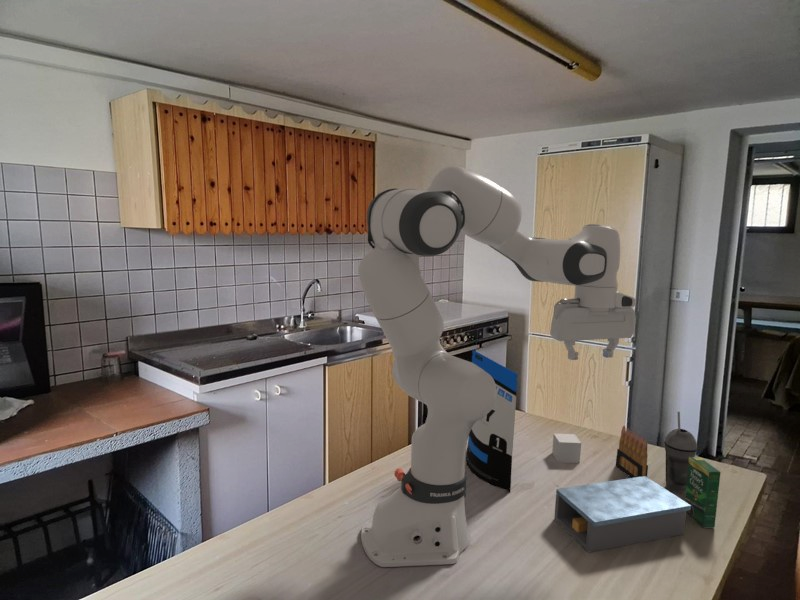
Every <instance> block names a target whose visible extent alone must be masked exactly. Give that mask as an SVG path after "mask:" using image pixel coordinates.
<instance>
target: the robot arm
mask: <svg viewBox="0 0 800 600" xmlns="http://www.w3.org/2000/svg"><path fill="white" fill-rule="evenodd" d="M429 185H430V186H429V187H428V188H427V189H426V190H423V189H415V188H389V189H386V190H383V191H381V192H379V193H378V194H376V195H375V196H374V197H373V198H372V200H371V201H370V202H369V204H368V207H367V212H366V226H367V243H368V245H369V246H370V247H371V248H372V249H371V250H369V252H367V253H365V255H364V256H363V257H362V259H361V261H360V262H359V265H358V278H359V281H360V284H361V287H362V290H363V293H364V295H365V297H366V300H367V303H368V306H369V308H370V309H371V311H372V313H373V316H374V317H375V319H376V321H377V323H378V324H379V327H380V329H381V330H382V332H383V334H384V336H385V338H386V340H387V342H388V343H389V345H390V348H391V351H392V355H393V363H392V368H391V370H392V371H391V374H392V378H393V381H394V382H395V384H396V385H397V386H398V387H399V388H400V389H401V390H402V391H403V392H404V393H405V394H406V395H407V396H409V397H411V398H413V399H415V400H416V401H419V402H420V403H422V404H424V405H426V408H427V417H426V419H425V423H423V424H422V425H420V426H419V427H417V428H416V429H415V431H413V433H412V436H411V449H410V451H411V452H410V468H409V469H408V471H407V472H406V473H405V471H404V470H403V468H401V467H400V468H397V469H395V471H394V473H393V474H394V477H395V478H396V480H397V481H398V482H400V485H401V486H400V487H399V488H397V489H396V490H395V491H394V492H392V493H391V494H390V495H388V496H387V497H386V498H384V499H383V500H382V501H380V502H378V504H377V505H376V507H375V509H374V512H373V516H372V520H370V521H368V522H365V523H363V525H362V528H361V533H360V540H361V545H362V548H363V550H364V552H365V554H366V555H367V557H368V558H369V559H370V561H372V563H373V564H375V565H377V566H378V567H381V568H395V567H416V566H418V567H419V566H435V565H436V566H440V565H442V566H443V565H454V564H456V563H457V562H458V560H459V557H460V554H461V553H462V552H463V551H464V550H465V549H467V547H468V545H469V543H470V541H471V540H470V539H471V536H470V532H469V529H468V523H467V517H466V516H467V515H466V508H465V504H466V503H465V498H466V496H467V487H468V483H467V480H468V479H467V471H466V452H467V446H468V437H469V433H470V430H471V428H472V427H473V425H474V424H475V422H477V421H478V420H480V419H482V418H483V417H485V416H486V415H487V414H488V413H489V412H490V410H491V409H492V407H493V405H494V402H495V399H496V385H495V382H494V379H493V378H492V376H491V375H490V374H488V373H487V372H486V371H484V370H483V369H481V368H480V367H478V366H477V365H476V364H474V363H472V361H468V360H465V359H463V358H461V357H457V356H453V355H452V354H450V353H449V352H447V351H446V349H444V347H443V345H442V344H441V341H440V340H441V339H440V338H441V335H442V334H443V331H444V327H445V323H444V320H443V317H442V315H441V313H440V311H439V309H438V306H437V305H436V304H437V303H435V301H434V298H433V296H432V294H431V292H430V290H429V287H428V285H427V284H426V281H425V280H424V278H423V276H422V272H421V269H420V257H434V256H438V255H441V254H443V253H446V252H447V251H448V250H449V249H450V248H451V247H452V246H453V245H454V244H455V242H456V241H457V239H458V238H459V235H460V233H462V234H463V235H466V236H467V237H469V238H470V239H472V240H475V241H477V242H479V243H481V244H484V245H487V246H489V248H492V249H493V250H494V251H495V252H498V253H499V254H500V255H501V256H504V257H505V258H507V259H508V260H509V261H510V262H512V263H513V264H514V265H515V267H516V268H517V269H518V271H519V272H520V274H521V275H522V276H523V277H524V279H526V280H528V281H531V282H538V283H539V282H541V283H543V282H546V283H551V284H558V285H565V286H575V287H574V297H573V298H562V299H560V300H559V301H557V302H556V303H555V304H554V305H553V314H552V320H551V324H550V330H549V331H550V332H549V334H550V336H551V338H552V339H553V340H556V341H558V342H563V344H564V346H565V349H566V350H567V359H568V360H570V361H575V360H578V359H579V357H578V356H579V352H578V351H576V350H575V348H574V346H576V341H577V342H578V341H591V340H592V341H594V340H595V341H596V340H607V342H608V343H607V346H606V347H605V348H603V349H602V352H603V353H602V357H603V358H608V359H609V358H613V357H614V351H615V349H616V348H617V346H618V345H619V344H620V343H619V342H620V341H619V340H620V339H630V338H632V337H633V335H634V333H635V329H636V311H635V309H634V307H635V306H636V303H637V300H636V298H635V297H633V296H631V295H628V294H625V293H623V292H620V291H618V286H619V285H618V281H617V279H618V278H617V275H618V271H619V269H620V265H621V264H620V262H621V238H620V234H619V231H618V230H617V229H616V228H614V227H612V226H609V225H602V224H601V225H600V224H592V223H591V224H586V225H584V226H583V227H582V229H581V230H580V232H578V233H577V234H575V235H573V236H571V237H569V238H568V239H554V238H545V237H544V238H543V237H529V236H527V235H525V234H524V233H523V232H522V231H520V230H519V228H520V225H521V222H522V207H521V203H520V201H518V199H517V198H516V197H515V195H513V194H512V193H511V192H510V191H509V190H507V189H506V188H504V187H503V186H502V185H499V184H498V183H496V182H495V181H493V180H491V179H490V178H488V177H487V176H484V175H482V174H479V173H478V172H477V171H473V170H470V169H468V168H466V167H462V166H459V165H451V166H450V165H449V166H447V167H445V168H443V169H441V170H440V171H439V172H437V174H436V175H435V176H434V177H433V179H432V181H431V183H430V184H429Z"/></svg>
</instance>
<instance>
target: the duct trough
mask: <svg viewBox="0 0 800 600" xmlns="http://www.w3.org/2000/svg"><path fill="white" fill-rule="evenodd" d="M553 516H554V517H553V519H554V521H556V523H557V524H559V526H560V527H562V528H563V529H564V530H565V531H566V532H567V533H568V534H569V535H570V536H571V537H572V538H573V539H574V540H575V541H577V543H579V545H580V546H582V548H583V549H585V550H586V551H587V552H588V553H593V552H598V551H602V550H607V549H613V548H619V547H623V546H628V545H633V544H638V543H644V542H649V541H655V540H660V539H664V538H670V537H675V536H681V535H684V533H685V524H686V517H687V511H682V512H676V513H670V514H665V515H659V516H653V517H648V518H642V519H636V520H631V521H625V522H619V523H614V524H608V525H602V526H597V527H594V526H593V525H592V524H591V523H590V522H588V528H587V531H584V532H577V531H576V530H575V529H574V528H573V527H572V523H573V518H579V517H583V516H582V515H580V514H579V513H578V512H577V511H576V510H575V509H574V508H572V507H571V506H570V505H569V504H568V503H567V502H566V501H564V500H563V499H562V498H561V497H560V496H559V495H558V494H555V504H554V515H553Z"/></svg>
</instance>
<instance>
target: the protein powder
mask: <svg viewBox="0 0 800 600" xmlns="http://www.w3.org/2000/svg"><path fill="white" fill-rule="evenodd" d="M471 352H472V355H471V362H472V363H474V364H476V365H477V366H478V367H480V368H481V369H483V370H484V371H486V372H487V373H488V374H490V375H491V376H492V378H493V379H494V382H495V385H496V399H495V402H494V405H493V407H492V409H491V410H490V412H489V413H488V414H487V415H486V416H485V417H483V418H482V419H480V420H478V421H477V422H475V424H474V425H473V427H472V428H471V430H470V433H469V436H468V440H467V446H466V459H465V463H466V462H467V463H466V466H468V467H467V468H468V470H469V469H470V470H469V471H470V473H472V475H474V474H475V475H476V477H477V478H478V479H479V480H481V481H483V482H485V483H487V484H488V483H489V485H490V486H493V487H495V488H499V489H502V490H504V491H508V492H509V493H511V490H512V489H511V487H512V469H513V468H512V465H513V450H514V449H513V448H514V437H515V424H516V423H515V422H516V421H515V420H516V406H517V389H518V380H517V379H518V375H519V374H518V373H517V372H515V371H513V370H511V369H509V368H507V367H505V366H504V365H502V364H499V362H496V361H494V360H493V359H491V358H490V357H488V356H485V355H484V354H481V353H480V352H478V351H477V350H474V349H472V351H471ZM475 475H474V476H475Z"/></svg>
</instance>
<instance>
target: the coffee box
mask: <svg viewBox="0 0 800 600" xmlns="http://www.w3.org/2000/svg"><path fill="white" fill-rule="evenodd" d="M720 480H721V471H720V470H718V468H715V467H714V466H713V465H712V464H710V463H708V462H707V461H706V460H705V459H703V458H702V457H700V456H695V457H689V462H688V474H687V485H686V492H685V497H684V501H685V502H686V503H688V504H690V505H691V510H687V511H686V513H688V514H689V515H690V516H691V517H692V518H693V519H694V520H695V521H696V522H697V523H698V524H699V525H700V526H701V527H702V528H705V529H714V528H715V526H716V525H715V524H716V520H717V519H716V518H717V508H718V498H719V489H720V488H719V487H720Z"/></svg>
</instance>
